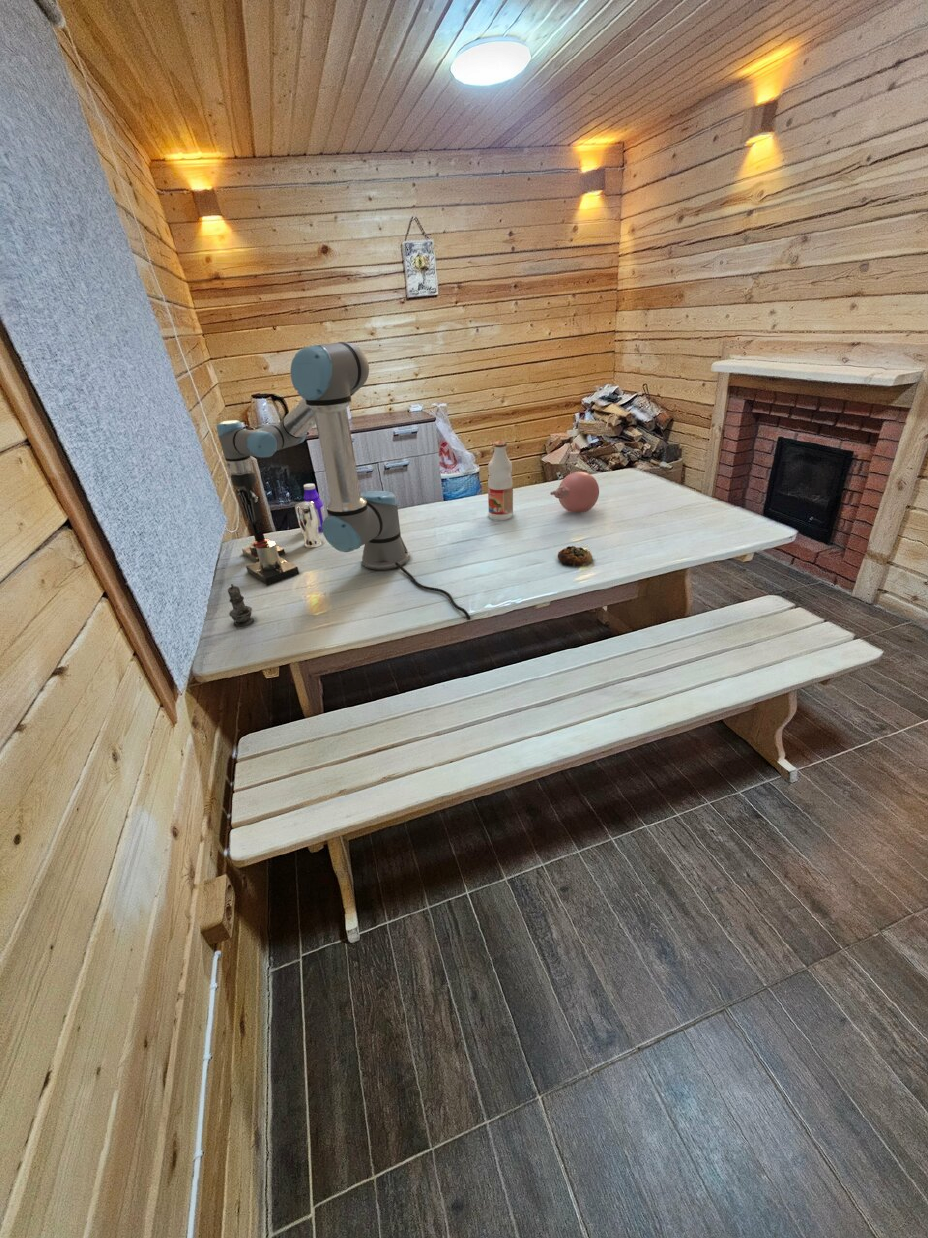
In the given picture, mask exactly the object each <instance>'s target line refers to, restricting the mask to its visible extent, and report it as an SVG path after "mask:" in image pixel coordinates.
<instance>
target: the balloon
mask: <svg viewBox="0 0 928 1238" xmlns="http://www.w3.org/2000/svg"><path fill="white" fill-rule="evenodd" d="M550 495H551V496H554V498H556V499H558V501H559V503H560V505H561V507H563V508H564V509H565V510H566V511H567V512H569V513H573V514H581V513H586V512H588V511H590V510H591V509H592V508H593V507H595V505H596V503H597V501H598V500H599V497H600V487H599V483H598V481H597V480H596V479H595V477H594V476H593V475H592V474H590V473H588V472H585V471H574V472H571V473H569V474H568V475H566V476H565V477H564V478H563V479H562V480H561V481H560V483H559V485H558V487H557V488H556V489H555V490H553V491H550Z"/></svg>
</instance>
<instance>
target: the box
mask: <svg viewBox="0 0 928 1238" xmlns="http://www.w3.org/2000/svg"><path fill="white" fill-rule="evenodd" d="M267 539H268V541H273V540H272V539H269V538H267ZM276 547H277V551H278V555H279V556H280V557H282V556H285V555H286V551H285V548H283V547H281V546H279V545H277V544H276ZM241 551H242V554H243V555H244V556H245V557H247V558H248V559H250V560H251V561H253V562H254V563H256V562H259V561H260V560H259V557H258V553H257V550H256V547H254V544H253V542H251V543H249V546H248V547H244V548H242V549H241Z"/></svg>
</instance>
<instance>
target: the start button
mask: <svg viewBox="0 0 928 1238" xmlns="http://www.w3.org/2000/svg"><path fill="white" fill-rule="evenodd" d="M264 538H265V540H262V541H259V542H257V541H255V539H254V540H253V541H252V543H253V544H254V547H256V545H257V544H259V543H261V542H265V541H268V539H269V538H266V537H264Z"/></svg>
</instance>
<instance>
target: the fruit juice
mask: <svg viewBox="0 0 928 1238" xmlns="http://www.w3.org/2000/svg"><path fill="white" fill-rule="evenodd" d="M507 445H508V444H507V441H503V440H499V441H498V440H497V441H494V442H493V443H492V447H493V448H492V449H493V454H492V457H491V459H490V460H489V462H488V464H487V471H488V474H489V475H488V479H487V480H488V481H487V499H488V501H487V502H488V503H487V504H488V517H489V518H490V519H491V520H493V521H506V520H507V521H508V520H509V519H511V518H513V515H514V479H513V476H512V473H513V462H512V461H511V459H509V457H508V454H507Z"/></svg>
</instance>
